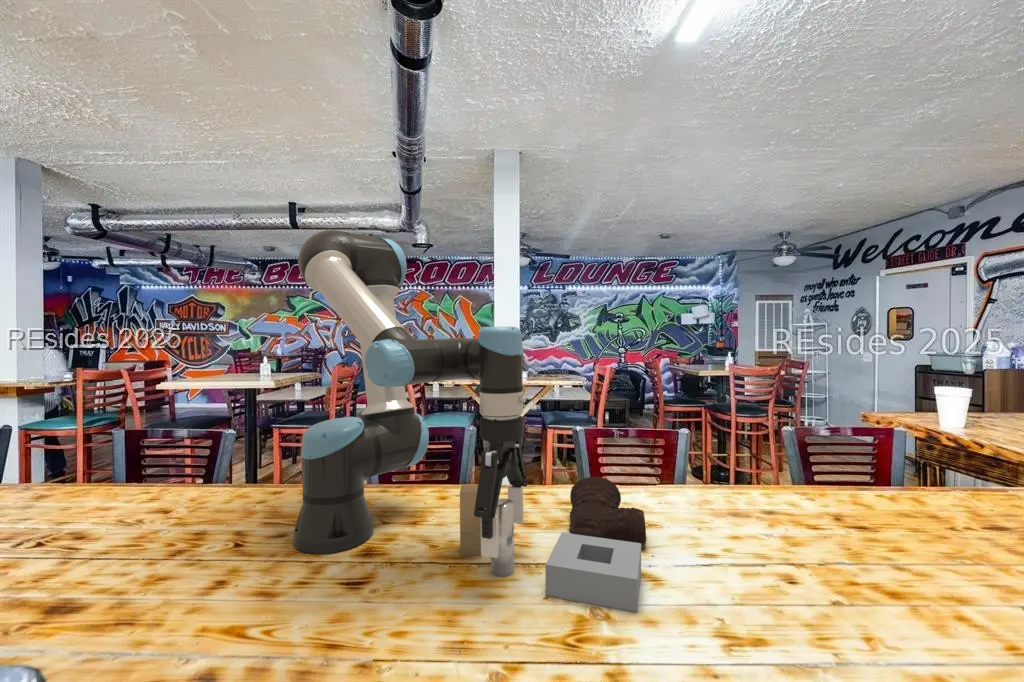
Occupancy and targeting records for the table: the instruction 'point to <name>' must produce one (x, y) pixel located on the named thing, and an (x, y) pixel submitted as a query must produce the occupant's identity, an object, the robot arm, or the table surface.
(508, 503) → the cylinder
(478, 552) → the square bit
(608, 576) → the socket block
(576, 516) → the pipe
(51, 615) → the table surface
